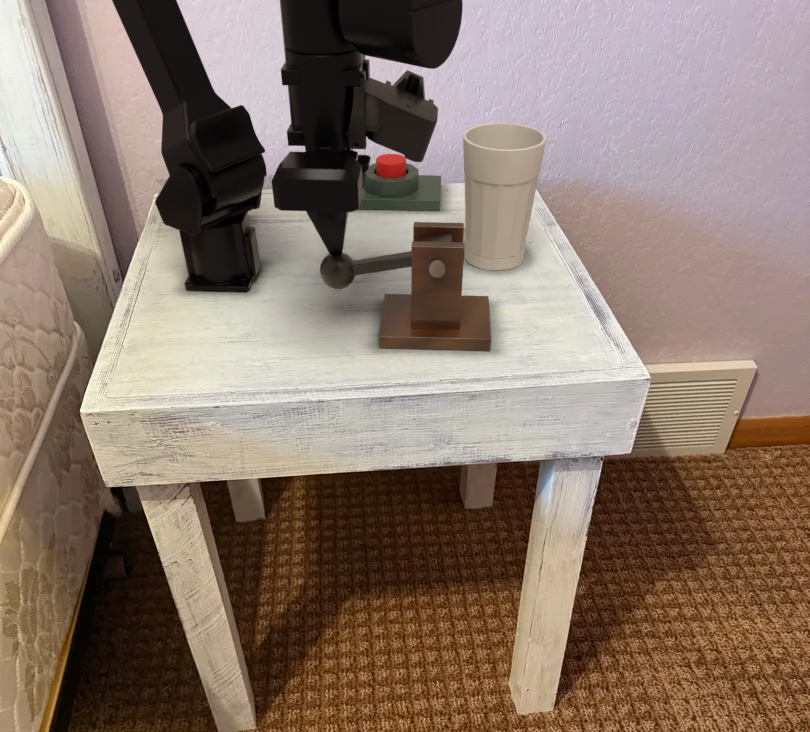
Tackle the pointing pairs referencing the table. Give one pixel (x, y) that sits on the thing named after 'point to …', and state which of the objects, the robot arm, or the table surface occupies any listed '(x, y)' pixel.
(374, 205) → the button block
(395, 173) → the button
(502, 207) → the cup
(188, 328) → the table surface
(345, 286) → the lever
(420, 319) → the bracket
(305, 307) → the table surface
